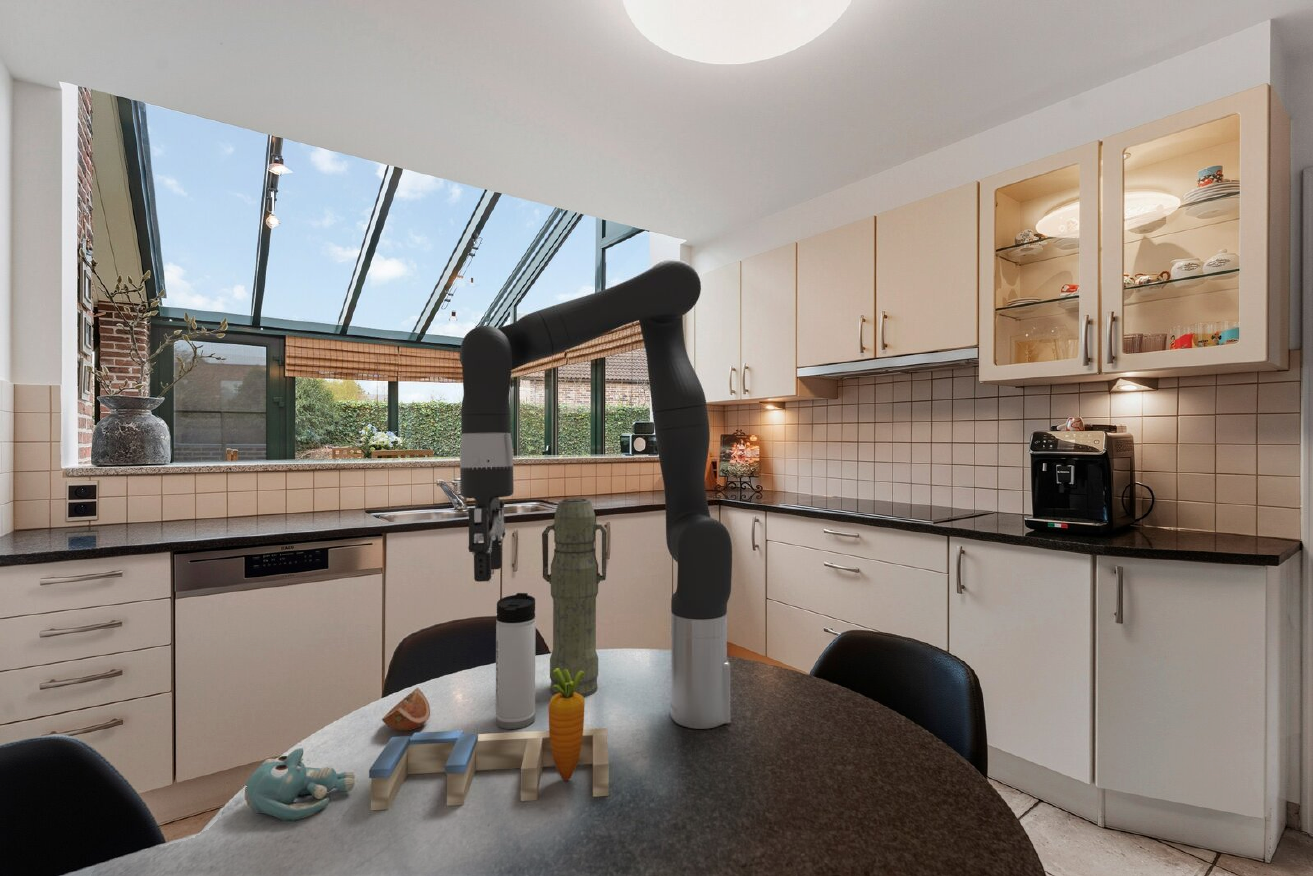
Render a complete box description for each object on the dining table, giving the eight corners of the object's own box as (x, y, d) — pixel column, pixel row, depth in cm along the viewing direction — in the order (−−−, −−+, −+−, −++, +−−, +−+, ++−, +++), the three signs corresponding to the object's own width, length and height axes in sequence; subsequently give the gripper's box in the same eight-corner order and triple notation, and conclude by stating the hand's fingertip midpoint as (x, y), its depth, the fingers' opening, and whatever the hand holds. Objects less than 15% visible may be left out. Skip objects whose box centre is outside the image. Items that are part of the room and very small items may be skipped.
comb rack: (606, 755, 86) (606, 720, 86) (608, 796, 76) (608, 756, 76) (396, 767, 83) (396, 730, 83) (368, 811, 72) (369, 770, 73)
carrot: (591, 775, 81) (591, 663, 81) (574, 794, 76) (575, 676, 76) (558, 768, 82) (559, 659, 83) (540, 787, 78) (541, 671, 78)
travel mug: (540, 712, 100) (541, 593, 101) (528, 730, 94) (528, 602, 94) (504, 710, 101) (505, 592, 101) (489, 729, 94) (490, 601, 95)
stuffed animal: (360, 767, 73) (245, 770, 68) (347, 829, 72) (229, 836, 67) (362, 730, 82) (261, 730, 77) (350, 784, 82) (248, 787, 77)
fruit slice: (416, 741, 90) (416, 708, 90) (371, 741, 90) (372, 708, 90) (436, 717, 98) (436, 686, 99) (396, 717, 98) (396, 686, 99)
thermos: (541, 682, 113) (542, 498, 114) (603, 678, 115) (604, 497, 116) (540, 701, 105) (541, 501, 105) (607, 696, 107) (608, 501, 108)
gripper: (504, 465, 81) (506, 584, 81) (519, 462, 95) (521, 564, 95) (448, 466, 80) (450, 587, 80) (471, 463, 94) (473, 566, 94)
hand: (488, 574), depth 87 cm, fingers open, 8 cm apart
